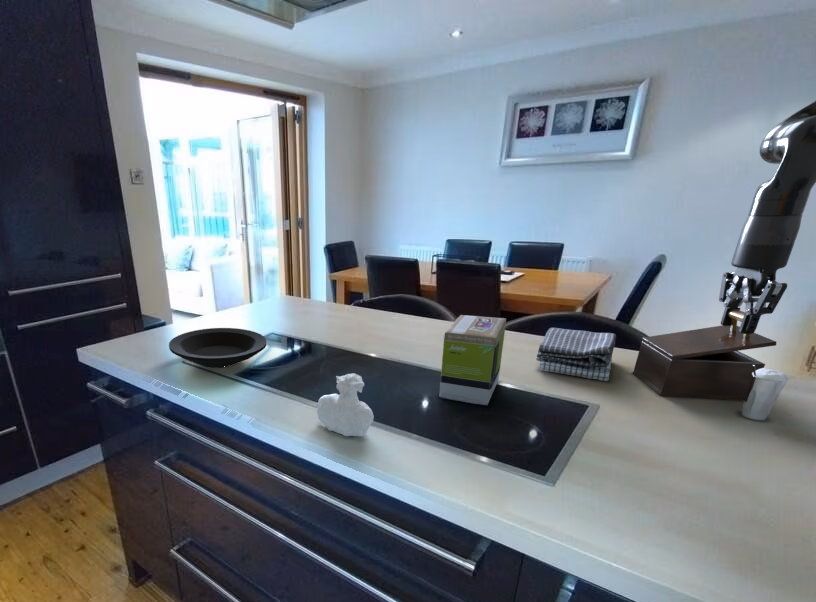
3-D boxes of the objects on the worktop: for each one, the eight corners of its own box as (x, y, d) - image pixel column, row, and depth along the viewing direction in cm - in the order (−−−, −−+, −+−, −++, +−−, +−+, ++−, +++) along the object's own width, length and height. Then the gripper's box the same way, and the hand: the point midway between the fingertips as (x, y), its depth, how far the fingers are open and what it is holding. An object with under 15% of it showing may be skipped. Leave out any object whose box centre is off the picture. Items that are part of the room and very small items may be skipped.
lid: (732, 327, 94) (734, 302, 92) (776, 345, 82) (779, 318, 81) (642, 340, 98) (642, 317, 97) (672, 359, 87) (673, 334, 85)
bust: (373, 447, 79) (395, 389, 81) (356, 438, 73) (379, 376, 75) (321, 428, 86) (341, 375, 88) (301, 418, 80) (323, 362, 82)
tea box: (453, 374, 104) (460, 312, 98) (499, 381, 100) (509, 317, 94) (437, 398, 92) (444, 330, 87) (488, 407, 88) (498, 336, 82)
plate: (154, 360, 120) (151, 340, 117) (228, 340, 134) (226, 322, 132) (208, 389, 100) (205, 366, 98) (287, 362, 115) (286, 342, 113)
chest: (711, 377, 98) (723, 343, 95) (750, 400, 87) (765, 364, 84) (632, 373, 102) (641, 341, 98) (660, 395, 90) (671, 360, 87)
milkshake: (725, 409, 84) (744, 360, 80) (758, 411, 83) (779, 362, 79) (741, 420, 80) (762, 369, 76) (777, 423, 79) (800, 371, 75)
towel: (612, 359, 110) (620, 329, 107) (607, 384, 96) (616, 350, 93) (544, 349, 118) (550, 321, 115) (531, 371, 105) (537, 339, 102)
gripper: (823, 244, 74) (786, 340, 81) (762, 236, 87) (734, 320, 94) (769, 245, 76) (737, 339, 83) (717, 238, 89) (693, 320, 95)
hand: (736, 328), depth 88 cm, fingers closed on lid, 5 cm apart
